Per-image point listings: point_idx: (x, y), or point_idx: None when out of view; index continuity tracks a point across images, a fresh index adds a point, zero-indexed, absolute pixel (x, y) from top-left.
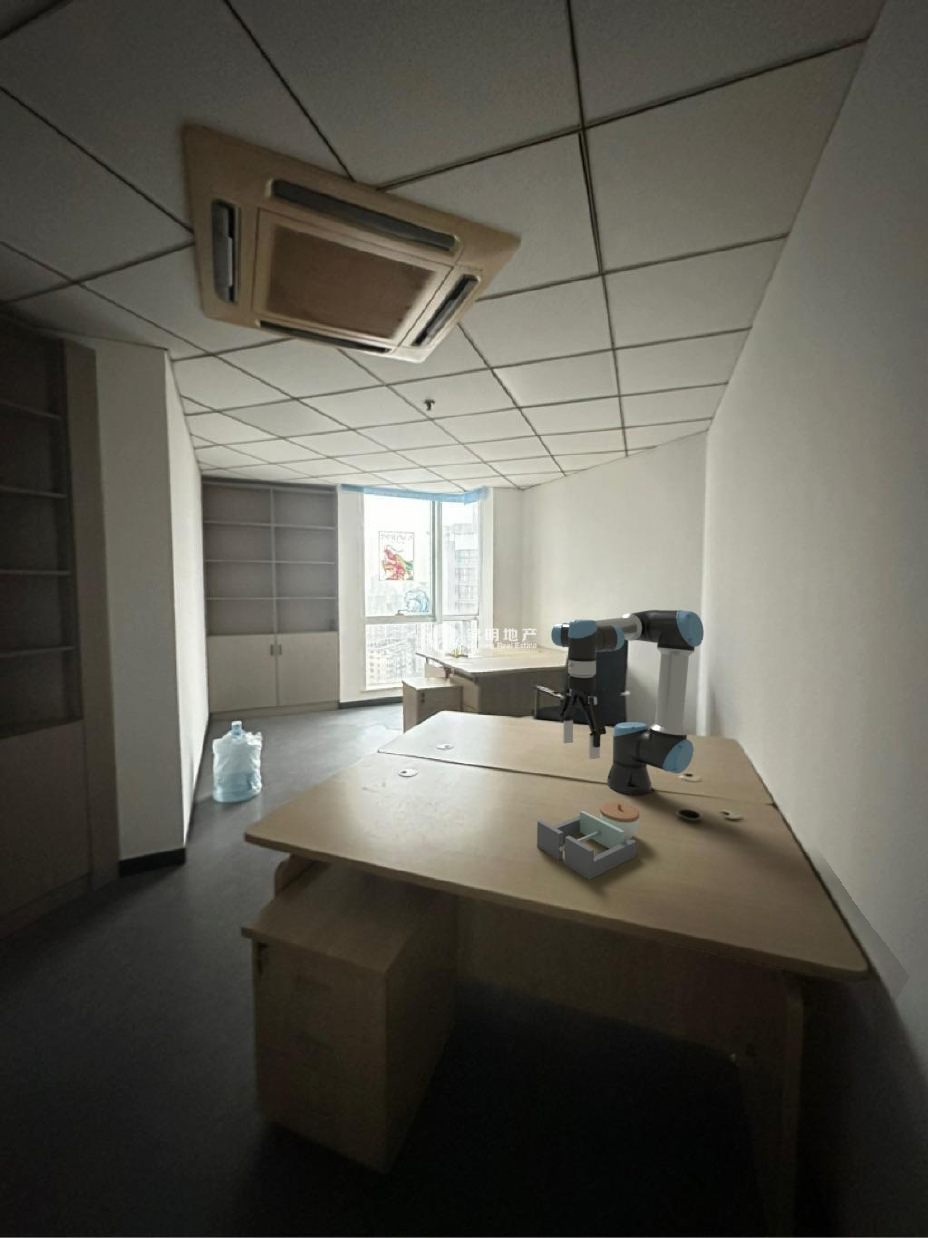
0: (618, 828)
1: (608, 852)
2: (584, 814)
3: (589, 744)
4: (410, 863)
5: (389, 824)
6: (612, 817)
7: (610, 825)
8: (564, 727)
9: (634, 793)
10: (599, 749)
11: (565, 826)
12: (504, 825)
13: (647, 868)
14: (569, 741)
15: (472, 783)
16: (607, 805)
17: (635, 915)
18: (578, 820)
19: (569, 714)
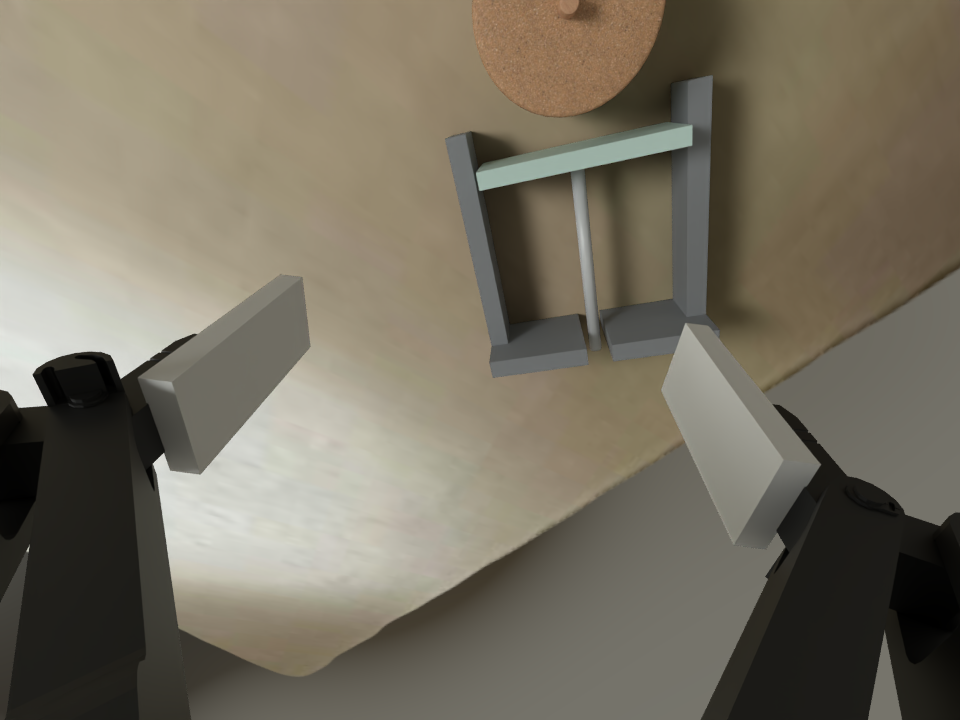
0: (664, 134)
1: (699, 239)
2: (502, 185)
3: (696, 462)
4: (457, 561)
5: (305, 551)
6: (601, 104)
7: (628, 149)
8: (231, 425)
9: None
10: (735, 362)
11: (490, 254)
12: (366, 359)
13: (764, 98)
14: (300, 313)
15: (67, 317)
16: (510, 44)
17: (855, 302)
18: (475, 185)
19: (155, 526)
